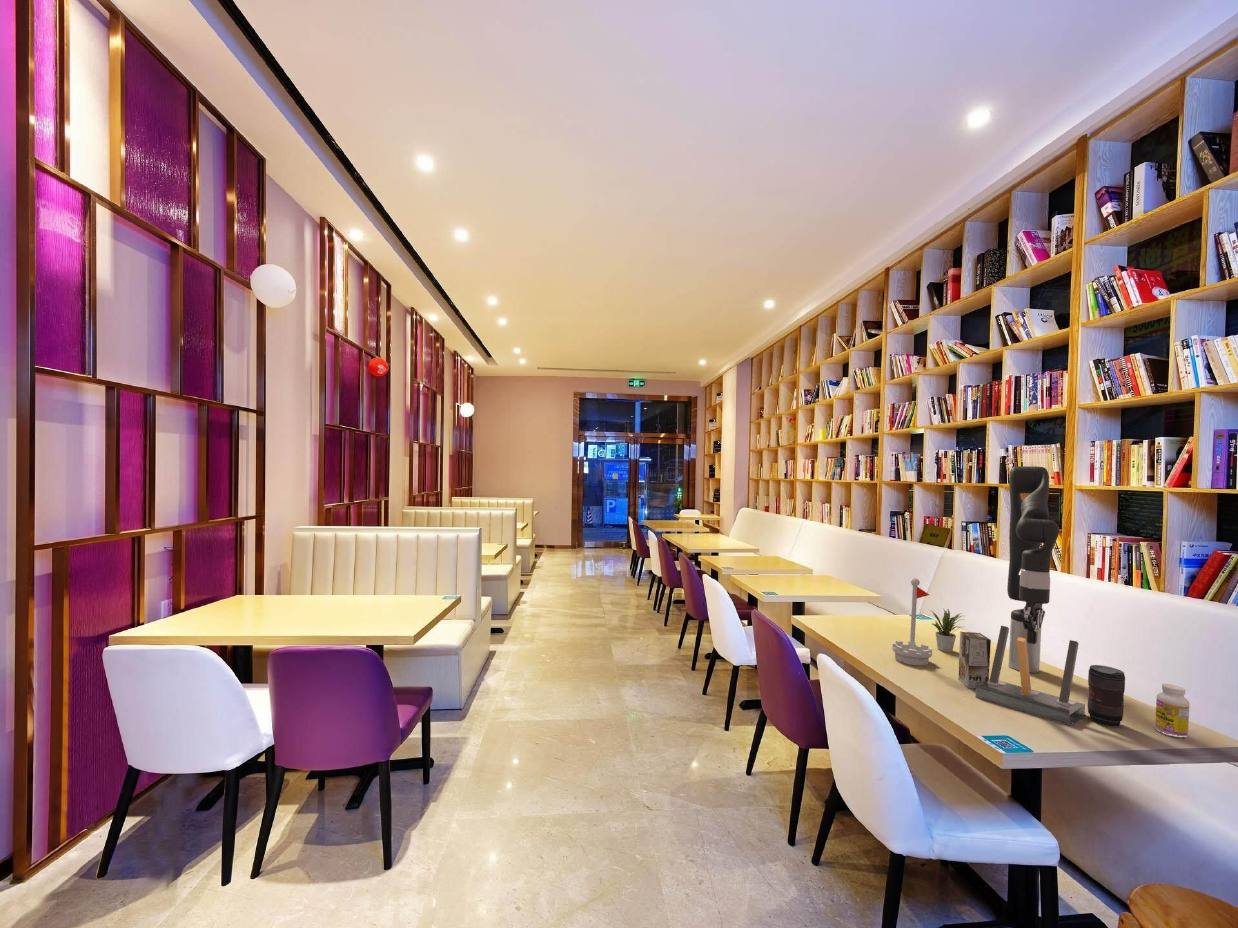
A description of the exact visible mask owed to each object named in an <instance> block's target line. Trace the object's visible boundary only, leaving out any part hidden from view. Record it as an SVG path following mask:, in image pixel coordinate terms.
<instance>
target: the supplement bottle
mask: <svg viewBox="0 0 1238 928" xmlns="http://www.w3.org/2000/svg"><path fill="white" fill-rule="evenodd" d="M1161 689H1162V692H1159V693H1157V695H1156V700H1155V702H1156V703H1155V705H1156V706H1155V720H1154V721H1155V722H1154V723H1155V724H1154V729H1155V731H1157V730H1159V731H1160V732H1164V733H1166V734H1172V735H1177V736H1187V737H1188V736H1189V724H1190V723H1189V721H1190V720H1189V719H1190V717H1189V716H1190V701H1189V700H1188V699H1187V698H1186V697H1185V694H1186V689H1185V688H1184V687H1183V686H1180V685H1176V684H1171V683H1163V684H1162V685H1161ZM1160 732H1159V733H1160Z"/></svg>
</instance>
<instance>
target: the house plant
mask: <svg viewBox="0 0 1238 928" xmlns="http://www.w3.org/2000/svg"><path fill="white" fill-rule="evenodd" d="M942 609H943V611H944V612H943V617H942V620H940V617H938V615H937V614H936V613H935V612H934V611H933V610H930V609H929V611H930V612H931V613H932V615H933V616H934V617H935V619H934V622H935V623H931V625H932V626H934V627H935V628H936V629H937V630H938V631H936V632H935V638H936V648H937V650H939V651H941V652H945V653H952V652H953V650H954V646H955V642H956V638H957V635H956V634H954V632H956V631H957V630H959V629H963V630H964V627H962V626H956V623H958V622H959V621H962V620H963V621H964V619H960V618H963V617H964V615H962V614H963V612H961V613H960V612H959V613H957V614H956V615H954V616H953V617H951V613H950V609H949V608H947V610H945V608H942ZM955 621H956V622H955ZM956 628H957V629H956ZM955 629H956V630H955ZM953 630H954V631H953Z"/></svg>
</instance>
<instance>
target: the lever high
mask: <svg viewBox="0 0 1238 928" xmlns="http://www.w3.org/2000/svg"><path fill="white" fill-rule="evenodd" d="M1078 649H1079V642H1078V641H1077V640H1072V639H1069V643H1068V647H1067V654H1066V657H1065V664H1064V665H1065V666H1064V670H1063V675H1062V681H1061V682H1062V683H1061V687H1060V692H1059V696H1058V697H1059V700H1057V705H1061V706H1064V707H1068V708H1069V707H1070V703H1068V702H1069V700H1070V697H1071V691H1072V690H1071V689H1072V686H1073V685H1072V684H1073V678H1074V672H1075V666H1076V661H1077V654H1078Z"/></svg>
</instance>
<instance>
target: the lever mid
mask: <svg viewBox="0 0 1238 928" xmlns="http://www.w3.org/2000/svg"><path fill="white" fill-rule="evenodd" d="M1017 648H1018V657H1019V667H1020V670H1019V675H1020V683H1021V684H1020V685H1021V687H1022V690H1021V694H1022V695H1025V696H1029V697H1033V693H1032V692H1031V689H1032V686H1031V676H1030V672H1029V664H1028V654H1027V644H1026V639H1025V638H1021V637H1019V638H1018V639H1017Z"/></svg>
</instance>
